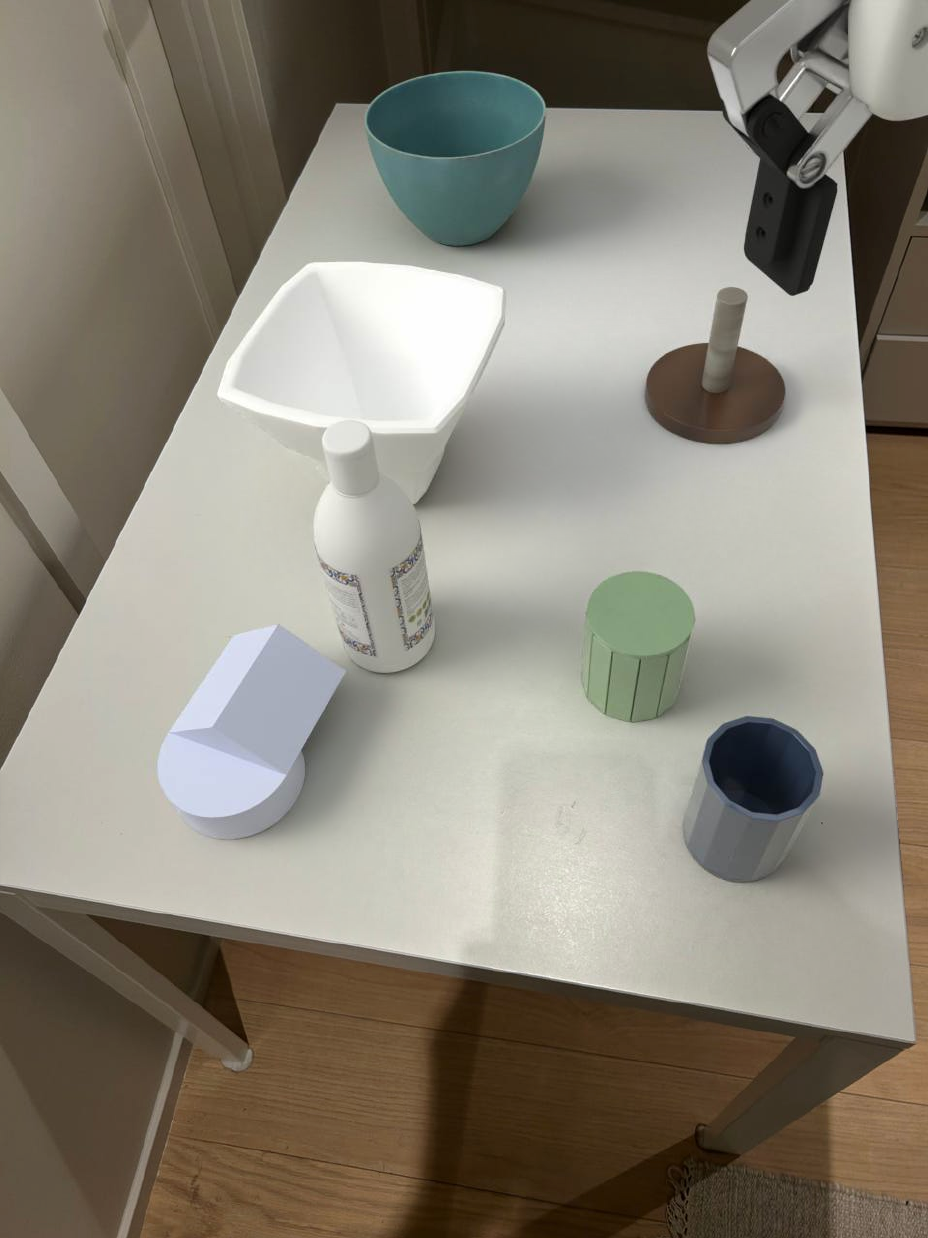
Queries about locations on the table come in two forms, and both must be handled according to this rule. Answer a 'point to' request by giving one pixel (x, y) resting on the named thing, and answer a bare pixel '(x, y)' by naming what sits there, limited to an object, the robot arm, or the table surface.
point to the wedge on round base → (247, 734)
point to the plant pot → (457, 150)
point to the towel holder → (716, 383)
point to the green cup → (636, 645)
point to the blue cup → (750, 798)
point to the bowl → (367, 361)
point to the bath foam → (372, 556)
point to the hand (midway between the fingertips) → (887, 236)
